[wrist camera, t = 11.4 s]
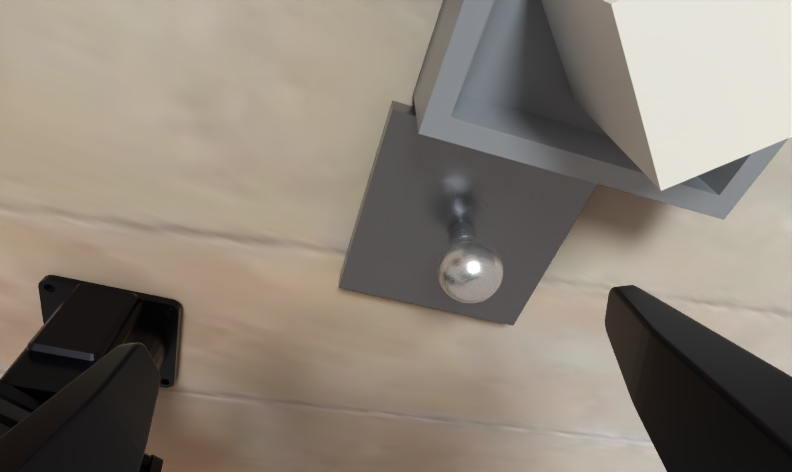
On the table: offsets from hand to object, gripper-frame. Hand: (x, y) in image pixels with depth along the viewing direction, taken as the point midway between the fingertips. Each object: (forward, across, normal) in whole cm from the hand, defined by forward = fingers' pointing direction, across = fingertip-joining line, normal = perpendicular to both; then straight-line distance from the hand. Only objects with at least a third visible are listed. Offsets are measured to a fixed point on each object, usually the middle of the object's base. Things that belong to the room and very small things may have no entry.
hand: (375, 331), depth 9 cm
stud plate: (+12, -3, +5) cm, 13 cm away
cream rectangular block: (+11, -9, -3) cm, 15 cm away
